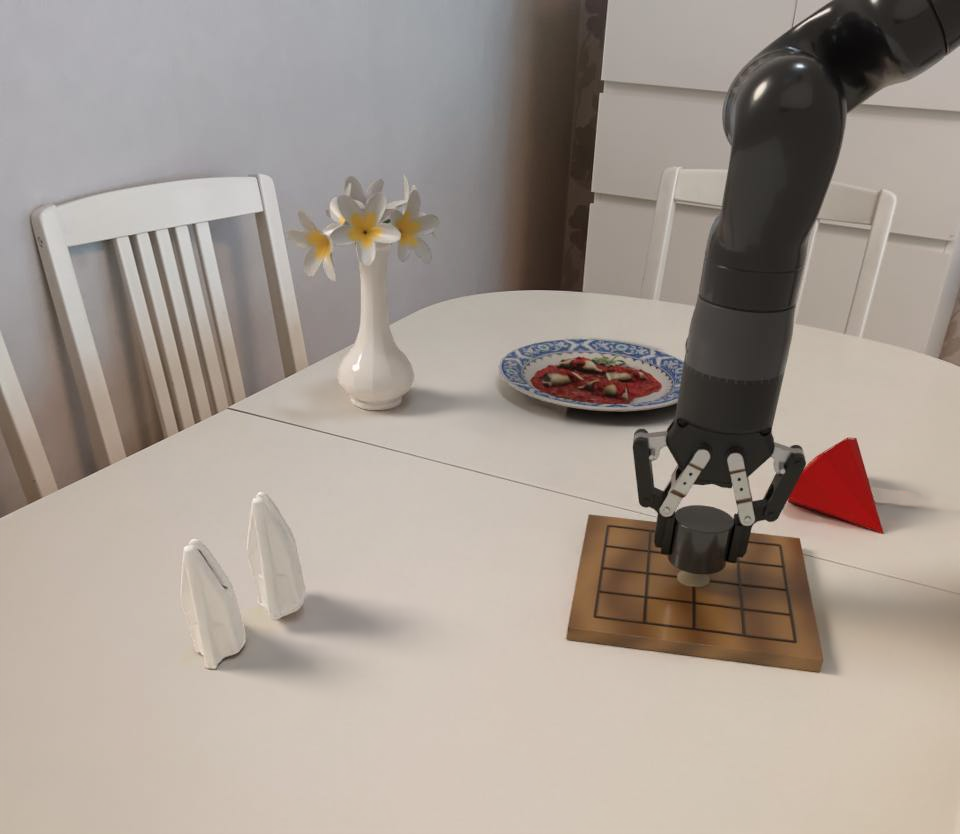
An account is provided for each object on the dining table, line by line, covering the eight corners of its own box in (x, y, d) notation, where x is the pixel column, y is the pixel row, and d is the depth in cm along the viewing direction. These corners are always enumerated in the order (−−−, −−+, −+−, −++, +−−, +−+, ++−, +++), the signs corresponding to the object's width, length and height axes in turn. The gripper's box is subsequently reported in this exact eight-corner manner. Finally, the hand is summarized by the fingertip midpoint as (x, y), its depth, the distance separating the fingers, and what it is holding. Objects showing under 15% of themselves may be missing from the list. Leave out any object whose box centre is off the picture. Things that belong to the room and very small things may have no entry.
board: (797, 549, 92) (800, 536, 91) (820, 672, 76) (824, 658, 75) (587, 525, 94) (588, 512, 94) (566, 639, 78) (567, 626, 77)
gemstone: (924, 505, 97) (855, 436, 100) (916, 497, 90) (841, 423, 93) (854, 566, 101) (788, 498, 104) (841, 563, 93) (770, 490, 96)
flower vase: (285, 416, 114) (266, 185, 100) (375, 371, 127) (369, 162, 113) (377, 441, 109) (370, 202, 95) (460, 392, 122) (465, 176, 108)
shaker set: (289, 588, 83) (278, 469, 77) (324, 605, 81) (316, 485, 75) (176, 651, 75) (154, 524, 69) (212, 671, 73) (193, 543, 67)
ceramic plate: (648, 444, 111) (652, 419, 109) (459, 394, 122) (460, 371, 120) (725, 380, 129) (730, 358, 128) (555, 342, 140) (557, 321, 138)
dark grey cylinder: (725, 549, 85) (733, 508, 83) (727, 578, 81) (736, 536, 79) (667, 542, 86) (674, 501, 83) (666, 570, 81) (674, 528, 79)
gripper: (637, 366, 71) (611, 566, 81) (838, 385, 69) (787, 587, 79) (641, 335, 77) (616, 524, 87) (826, 352, 75) (779, 543, 85)
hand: (698, 553), depth 83 cm, fingers closed on dark grey cylinder, 5 cm apart
